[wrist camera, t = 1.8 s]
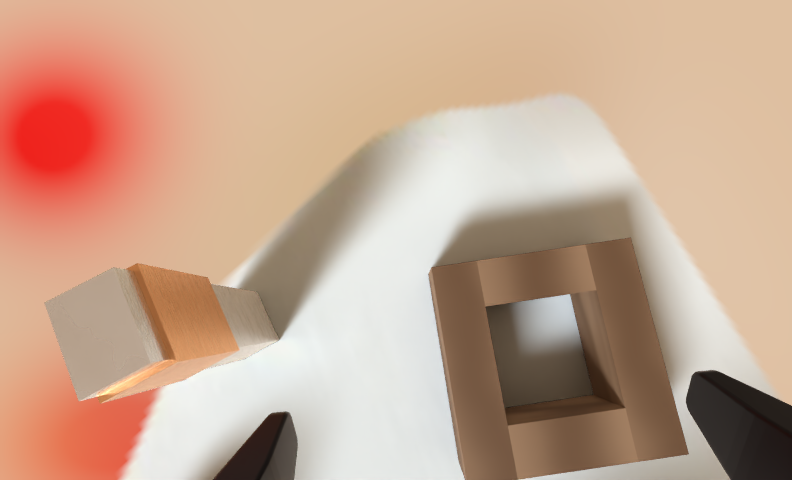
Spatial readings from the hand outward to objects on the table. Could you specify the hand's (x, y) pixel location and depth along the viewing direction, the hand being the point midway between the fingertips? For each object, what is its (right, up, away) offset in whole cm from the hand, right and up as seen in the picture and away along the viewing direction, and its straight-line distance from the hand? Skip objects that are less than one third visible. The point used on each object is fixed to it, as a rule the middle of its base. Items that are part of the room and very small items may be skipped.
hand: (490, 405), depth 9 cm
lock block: (+6, -3, +15) cm, 17 cm away
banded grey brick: (-11, -2, +16) cm, 20 cm away
